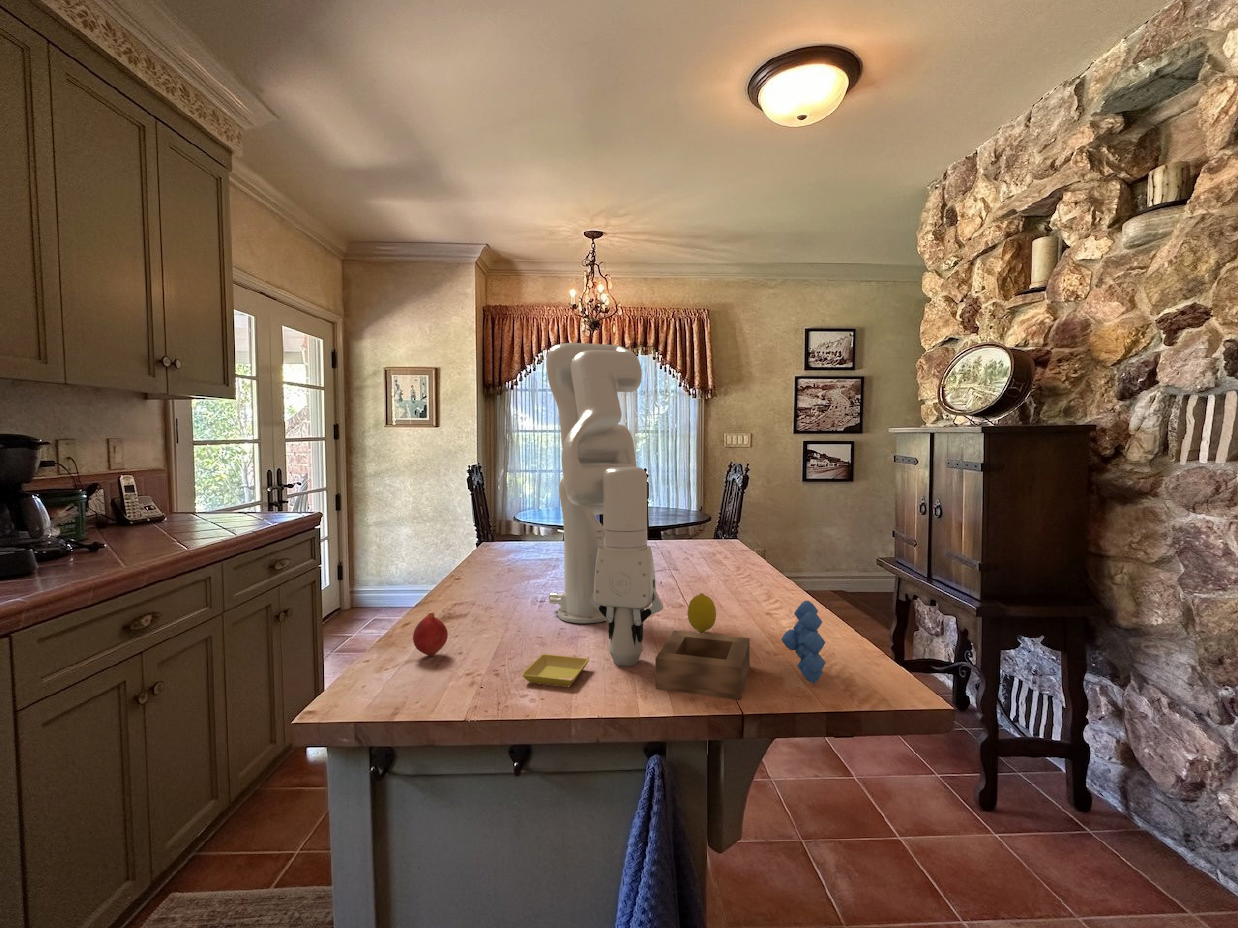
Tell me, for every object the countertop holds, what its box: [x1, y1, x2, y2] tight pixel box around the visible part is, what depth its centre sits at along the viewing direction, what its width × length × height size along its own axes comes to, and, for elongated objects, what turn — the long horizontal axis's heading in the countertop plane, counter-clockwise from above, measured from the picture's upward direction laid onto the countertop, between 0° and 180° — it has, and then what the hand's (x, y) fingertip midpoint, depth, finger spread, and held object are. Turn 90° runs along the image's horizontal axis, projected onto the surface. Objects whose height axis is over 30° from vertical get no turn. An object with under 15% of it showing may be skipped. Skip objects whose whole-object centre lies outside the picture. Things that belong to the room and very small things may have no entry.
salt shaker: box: [608, 607, 643, 667], centre depth 97 cm, size 6×6×13 cm
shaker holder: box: [654, 630, 751, 701], centre depth 91 cm, size 13×13×5 cm
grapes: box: [780, 600, 826, 684], centre depth 91 cm, size 12×7×12 cm, turn 173°
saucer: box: [521, 653, 590, 688], centre depth 92 cm, size 9×9×2 cm
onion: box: [412, 611, 449, 657], centre depth 101 cm, size 6×6×8 cm
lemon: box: [687, 593, 717, 634], centre depth 111 cm, size 6×6×8 cm
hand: (625, 643), depth 98 cm, fingers closed on salt shaker, 3 cm apart
